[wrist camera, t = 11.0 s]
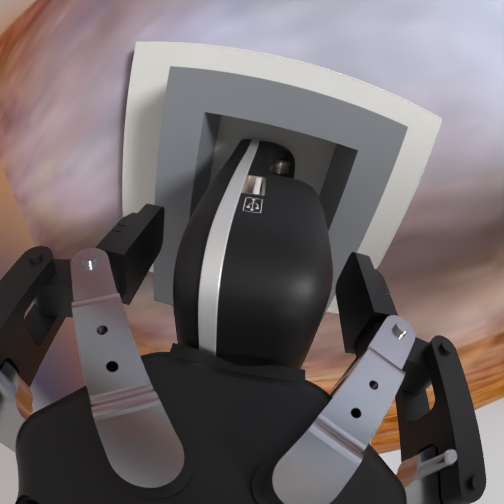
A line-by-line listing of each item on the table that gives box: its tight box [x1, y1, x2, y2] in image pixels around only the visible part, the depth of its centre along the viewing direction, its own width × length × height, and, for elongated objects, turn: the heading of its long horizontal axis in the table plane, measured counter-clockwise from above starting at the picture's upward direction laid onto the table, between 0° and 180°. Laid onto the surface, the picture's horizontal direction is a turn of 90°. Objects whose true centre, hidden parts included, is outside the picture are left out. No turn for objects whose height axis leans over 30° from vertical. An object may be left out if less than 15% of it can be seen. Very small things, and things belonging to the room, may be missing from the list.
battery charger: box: [173, 138, 333, 369], centre depth 12 cm, size 7×4×11 cm, turn 174°
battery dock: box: [122, 42, 442, 320], centre depth 15 cm, size 18×16×5 cm
